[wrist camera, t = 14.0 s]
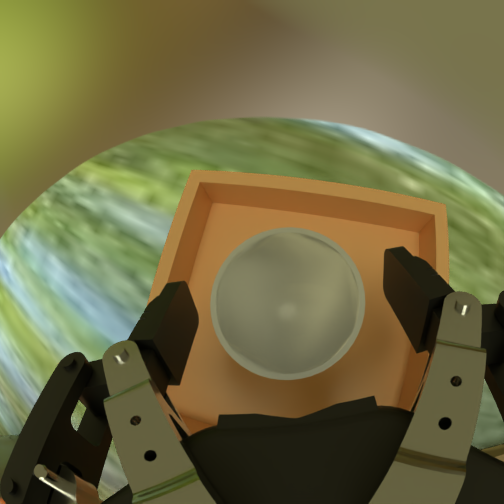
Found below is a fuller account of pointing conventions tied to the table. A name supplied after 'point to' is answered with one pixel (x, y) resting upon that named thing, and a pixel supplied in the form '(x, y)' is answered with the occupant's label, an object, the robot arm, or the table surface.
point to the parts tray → (335, 228)
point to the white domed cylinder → (287, 303)
